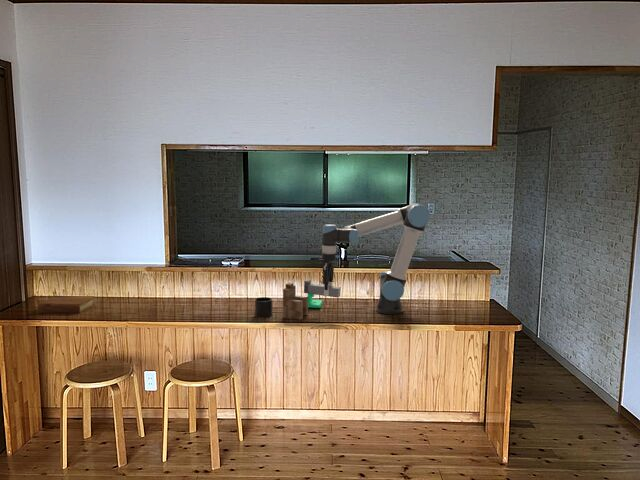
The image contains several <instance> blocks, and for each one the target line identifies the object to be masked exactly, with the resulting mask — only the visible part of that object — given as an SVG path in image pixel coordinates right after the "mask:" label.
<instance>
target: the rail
mask: <svg viewBox="0 0 640 480" xmlns="http://www.w3.org/2000/svg"><path fill="white" fill-rule="evenodd" d="M303 286H304V287H303V294H307V295H308V294H314V296H315V295H317V296H324V297H326V296H325V295H324V284H318V283H312V279H305V280H304V282H303ZM328 297H331V298H337V299H338V298H340V297H341V287H340V286H334V285H332V286H329V296H328Z"/></svg>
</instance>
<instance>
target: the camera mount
mask: <svg viewBox="0 0 640 480" xmlns="http://www.w3.org/2000/svg"><path fill="white" fill-rule="evenodd" d="M306 297H308V308H315V309H318V308H319V309H320V308H322V306H323V305H322V304H323V300H322V299H313V298H314V297H315V294H307V296H306Z"/></svg>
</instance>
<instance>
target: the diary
mask: <svg viewBox="0 0 640 480" xmlns="http://www.w3.org/2000/svg"><path fill="white" fill-rule="evenodd" d="M94 299H95V296H94V295H93V296H92V295H91V296H90V295H55V296H53V297H51V298H49V299H46V300H44V301H43V302H40V303H39V304H38V313H39V314H40V313H41V314H43V313H44V314H81V313H83V312H84V311H86V310H88V309H90V308H92V307H93V306H95V305H96V304H95V303H94Z"/></svg>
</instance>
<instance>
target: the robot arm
mask: <svg viewBox="0 0 640 480" xmlns="http://www.w3.org/2000/svg"><path fill="white" fill-rule="evenodd" d="M430 219H431V213H430V210H429V208H428V207H427V206H426V205H424V204H422V203H419V202H413V203H411V204H409V205H406V206H403V207H400V208H398V209H397V211H394V212H390V213H387V214H383V215H380V216H376V217H373V218H370V219H366V220H363V221H361V222H358V223H354V224H351V225H345V226H344V227H342V228H338V227H337V225H336V224H327V223H326V224H324V225H323V226H322V239H321V240H322V243H321V244H322V245H321V250H322V251H321V252H322V253H321V260H323V261H324V263H323V266H322V285H324V295H325V296H324V297H330V296H329V286H333V283H334V281H335V280H334V272H335V271H334V270H335V262H333V261H336V257H337V243H345V244H356V243H359V237H362V236H365V235H368V234H372V233H375V232H379V231H383V230H386V229H390V228H393V227H395V226H398V225H402V226H403V228H404V229H403V232H402V236H401V238H400V242H399V244H398V247H397V248H396V249H397V250H396V252H395V256H394V258H393V260H392V261H393V262H392V264H391V268H390V269H389V270H388V271H381V272H380V275H379V298H378V302H377V305H376V306H375V307H376V308H375V309H376V312H377V313H379V314H385V315H398V314H401V313H403V311H404V307H403V304H402V303H403V302H402V301H401V298H402V297H403V295H404V294H405V286H406V283H407V281H408V278H407V271H408V269H409V266H410V262H411V260H412V257H413V255H414V252H415V249H416V246H417V243H418V241H419V238H420V234H422V233H424V232H425V229H426V226H427V225H428V224H429V222H430Z"/></svg>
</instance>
